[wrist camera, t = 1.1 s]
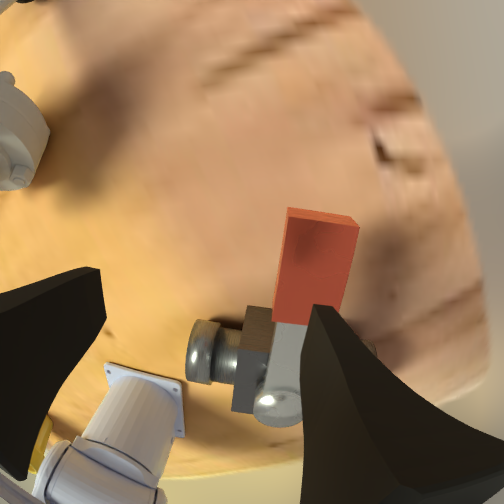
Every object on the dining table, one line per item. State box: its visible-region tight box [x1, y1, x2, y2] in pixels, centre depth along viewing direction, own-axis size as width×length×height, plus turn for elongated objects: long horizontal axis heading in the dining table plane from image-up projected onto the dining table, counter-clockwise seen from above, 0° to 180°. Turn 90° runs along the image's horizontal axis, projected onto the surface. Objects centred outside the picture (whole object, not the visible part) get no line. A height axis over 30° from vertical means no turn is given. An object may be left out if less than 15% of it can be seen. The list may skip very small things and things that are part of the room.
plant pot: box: [28, 415, 53, 474], centre depth 29 cm, size 10×10×10 cm
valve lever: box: [253, 207, 360, 427], centre depth 15 cm, size 13×3×2 cm, turn 174°
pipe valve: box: [185, 306, 377, 414], centre depth 20 cm, size 6×13×5 cm, turn 84°
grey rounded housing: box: [0, 0, 50, 191], centre depth 14 cm, size 10×20×15 cm
